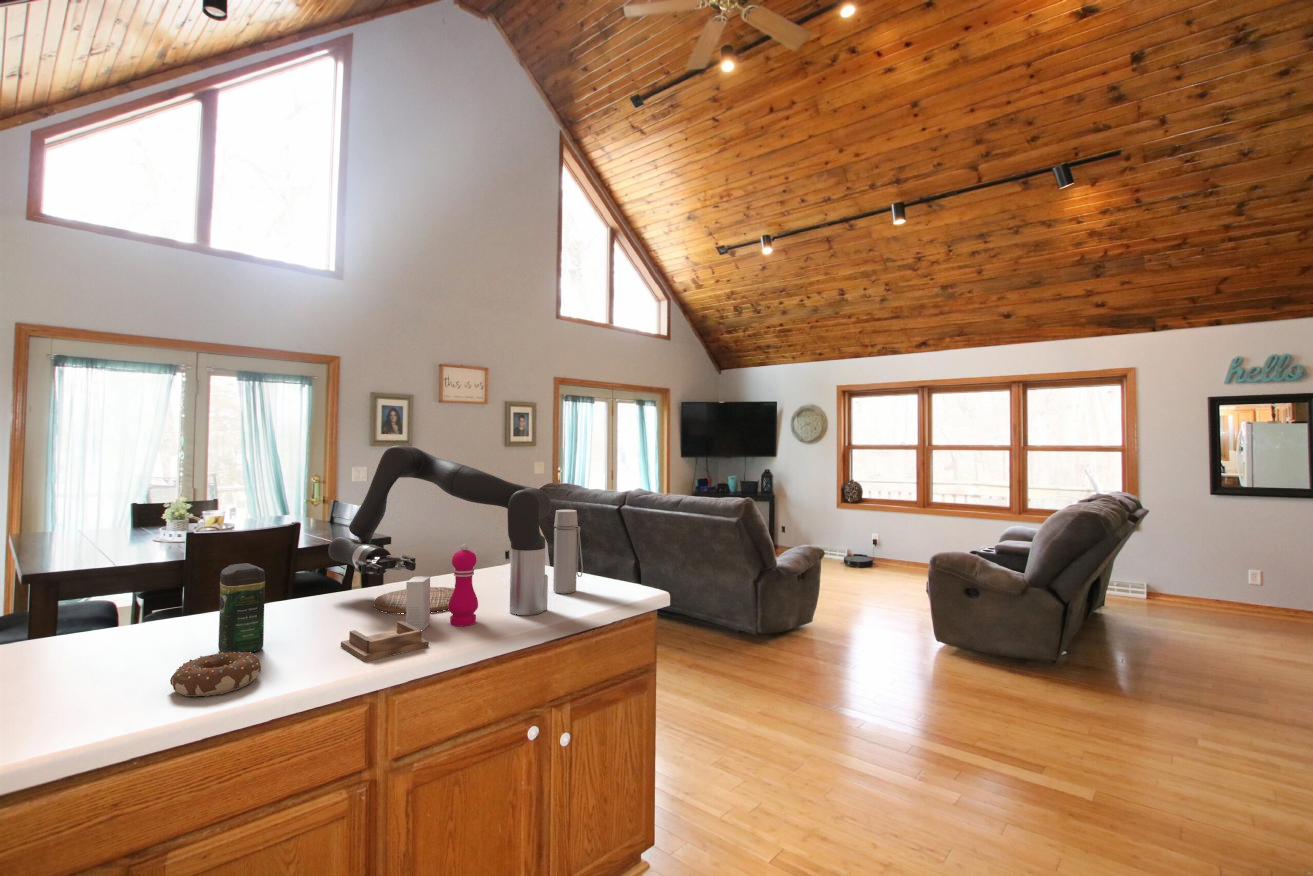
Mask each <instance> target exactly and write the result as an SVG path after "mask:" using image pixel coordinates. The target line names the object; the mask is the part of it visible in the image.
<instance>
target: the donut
mask: <svg viewBox="0 0 1313 876" xmlns="http://www.w3.org/2000/svg"><path fill="white" fill-rule="evenodd" d="M261 671H262V665H261V662H260V658H259V657H258V656H257V654H256V655H255V653H253V652H252V653H251V652H250V653H249V652H229V653H223V652H222V653H221V652H220V653H215V654H210V655H205V656H203V655H200V656H199V657H198V658H195V659H189V661H187V662H184V663H182V665H181V666H179V667H178V668H176V671H175V672H174V673H173V675H172V676H171V678H170V681H169V682H170V685H171V686H172V687H173V690H174V692H177V693H178V694H180V695H182V696H183V695H186V696H185V697H188V696H205V697H208V696H207V695H212V696H217V695H216V694H218V695H222V694H221V693H223V694H227V693H230V691H231V692H233V690H234V691H237V690H239V689H242V688H244V687H245V686H247V685H249V684H251V683H252V682H253V681H254V679H256V678H257V677H258V674H259V673H260V672H261Z"/></svg>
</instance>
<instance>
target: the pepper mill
mask: <svg viewBox="0 0 1313 876" xmlns="http://www.w3.org/2000/svg"><path fill="white" fill-rule="evenodd" d="M468 549H469V546H468V544H467V543H463V544H462V545H460V550H458V551H456V552H455V553H454V554H453V556H452V557H451V565H452V567H453V568H454V569H453V572H454V573H453V577H455V578H454V579H455V583H454V591H453V594H452V596H451V598H450V601H449V606H448V608H449V610H448V611H449V612H450V613H451V614H452V615H451V616H450V617H449V619H450V620H449V624H450V625H451V626H453V625H455V626H454V627H467V626H466V625H468V626H472V625H473V624H474V625H475V624H476V621H477V615H476V614H475V613H476V611H477V610H478V608H479V600H478V596H477V594H476V591H475V589H474V586H473V577H474V575H475V572H474V571H475V569H474V567H475V566H476V564H477V555H476V554H475V553H474V551H472V550H468ZM471 624H472V625H471Z"/></svg>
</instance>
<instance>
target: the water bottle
mask: <svg viewBox="0 0 1313 876" xmlns="http://www.w3.org/2000/svg"><path fill="white" fill-rule="evenodd" d="M577 512H578V510H577V509H558V510H557V509H556V510H555V513H554V515H555V516H554V524H553V527H554V530H553V538H554V539H553V584H552V585H553V586H552V587H553V588H552V590H553V592H555V593H556V594H559V593H561V594H560V595H565V594H566V593H569V594H572V592H573V593H574V592H576V591H577V577H578V578H581V577H582V576H583V571H584V570H583V569H584V566H583V555H582V553H583V552H582V546H581V545H582V544H581V543H582V542H581V536H580V534H581V533H580V532H581V526H578V525H579V523H578V513H577ZM579 549H580V550H579ZM579 551H580V553H579ZM579 554H580V564H581V565H580V566H581V570H580V575H579V573H578V572H579ZM566 595H567V594H566Z"/></svg>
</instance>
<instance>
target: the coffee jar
mask: <svg viewBox="0 0 1313 876" xmlns="http://www.w3.org/2000/svg"><path fill="white" fill-rule="evenodd" d="M219 575H220V579H219V622H218V643H217V645H218V650H219V652H220V653H222V652H223V653H229V652H249V653H250V652H251V653H252V654H253V653H254V652H257V651H261V650H263V647H264V636H265V634H264V633H265V631H264V629H265V628H264V627H265V592H266V588H265V587H266V572H265V570H264V568H261V567H259V566H257V565H254V564H252V563H249V562H248V563H247V562H246V563H237V564H236V563H234V564H229V565H227V567H225V568H223V569H222V570H221V572H220V574H219Z"/></svg>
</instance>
